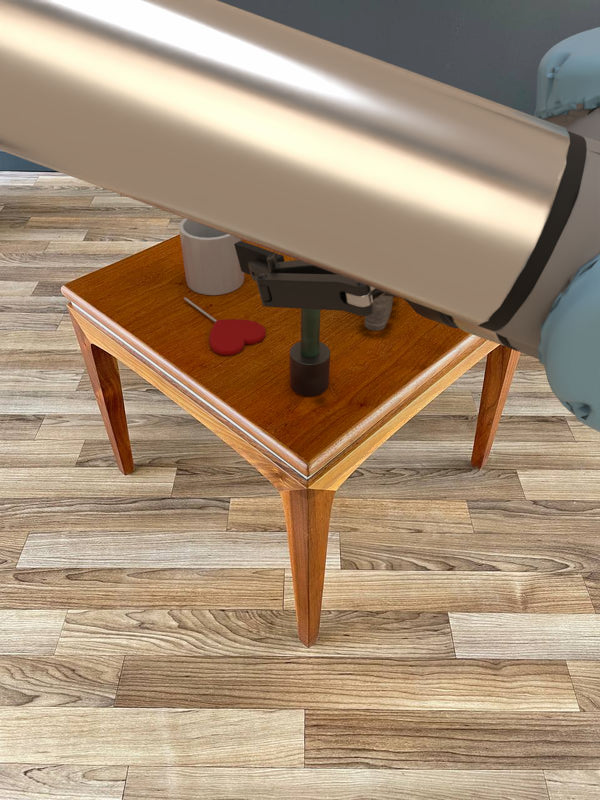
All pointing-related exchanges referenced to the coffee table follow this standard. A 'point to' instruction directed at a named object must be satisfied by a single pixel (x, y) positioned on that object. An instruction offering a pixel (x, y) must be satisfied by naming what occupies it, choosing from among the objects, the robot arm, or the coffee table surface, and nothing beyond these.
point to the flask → (379, 313)
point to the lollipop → (232, 334)
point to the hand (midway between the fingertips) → (298, 228)
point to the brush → (309, 358)
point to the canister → (209, 259)
